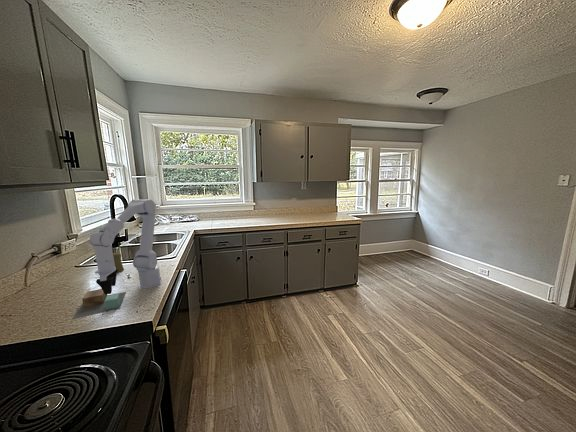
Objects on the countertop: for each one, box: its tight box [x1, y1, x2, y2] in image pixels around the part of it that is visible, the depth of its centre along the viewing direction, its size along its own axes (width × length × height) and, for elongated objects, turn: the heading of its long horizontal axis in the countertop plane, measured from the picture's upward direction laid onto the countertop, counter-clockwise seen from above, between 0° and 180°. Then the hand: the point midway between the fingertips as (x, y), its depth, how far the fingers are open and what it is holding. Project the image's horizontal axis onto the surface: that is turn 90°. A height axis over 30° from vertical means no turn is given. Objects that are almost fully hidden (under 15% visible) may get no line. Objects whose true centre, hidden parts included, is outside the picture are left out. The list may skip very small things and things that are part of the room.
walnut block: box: [81, 288, 108, 307], centre depth 108 cm, size 7×7×4 cm
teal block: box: [104, 293, 121, 310], centre depth 104 cm, size 4×4×4 cm
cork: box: [113, 252, 125, 274], centre depth 140 cm, size 6×6×11 cm
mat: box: [71, 291, 127, 320], centre depth 106 cm, size 16×16×1 cm
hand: (110, 289), depth 103 cm, fingers open, 7 cm apart
